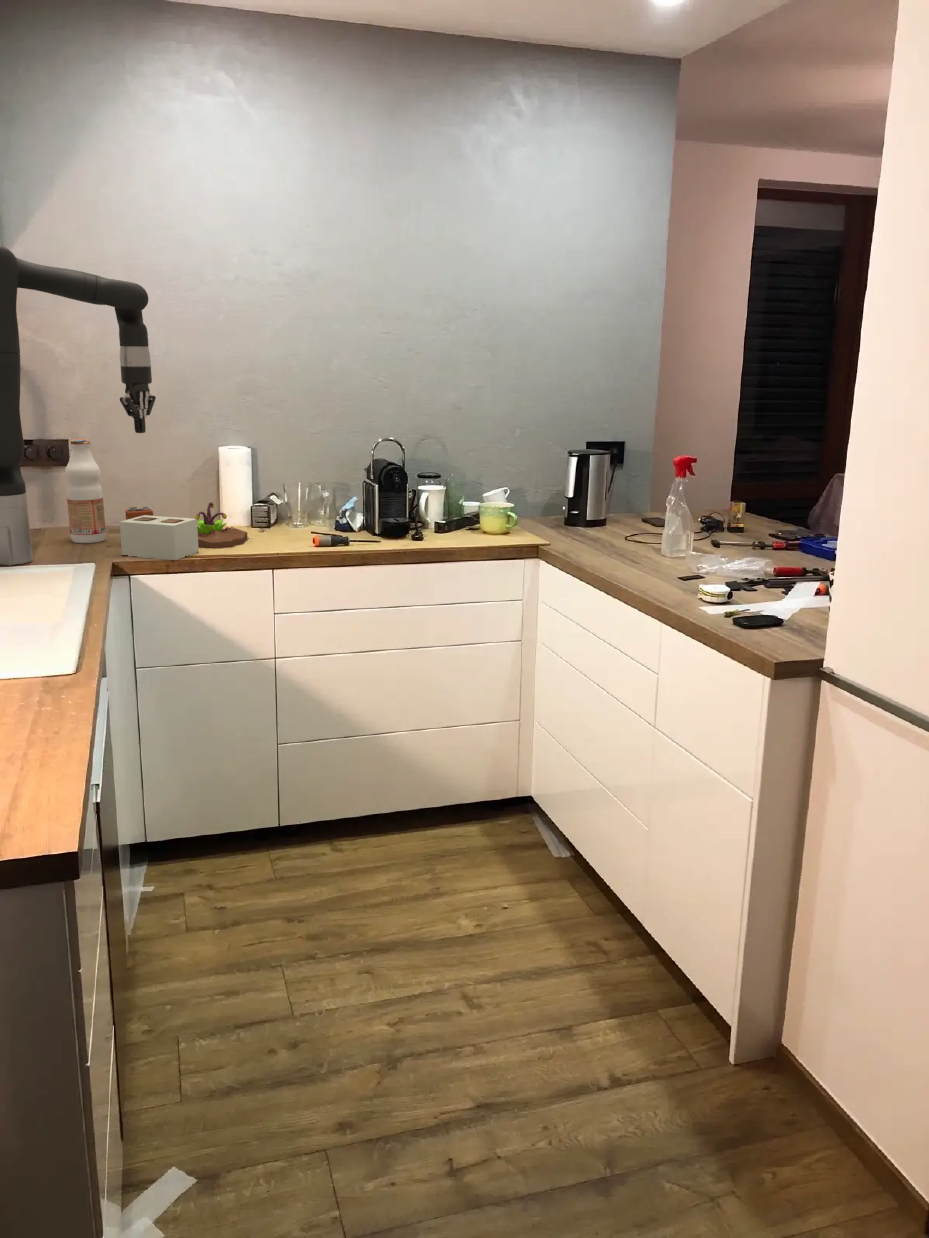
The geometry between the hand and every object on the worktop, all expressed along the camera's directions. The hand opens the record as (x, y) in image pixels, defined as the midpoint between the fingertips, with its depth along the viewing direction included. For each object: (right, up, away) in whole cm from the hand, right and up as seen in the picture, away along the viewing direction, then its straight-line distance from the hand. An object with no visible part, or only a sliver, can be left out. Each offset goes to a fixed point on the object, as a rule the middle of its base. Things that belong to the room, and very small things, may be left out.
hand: (140, 432), depth 260 cm
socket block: (+5, -32, +2) cm, 32 cm away
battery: (-5, -28, +17) cm, 33 cm away
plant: (+14, -28, +20) cm, 36 cm away
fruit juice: (-20, -27, +18) cm, 38 cm away
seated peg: (+1, -31, +3) cm, 32 cm away
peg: (+9, -32, +1) cm, 33 cm away
